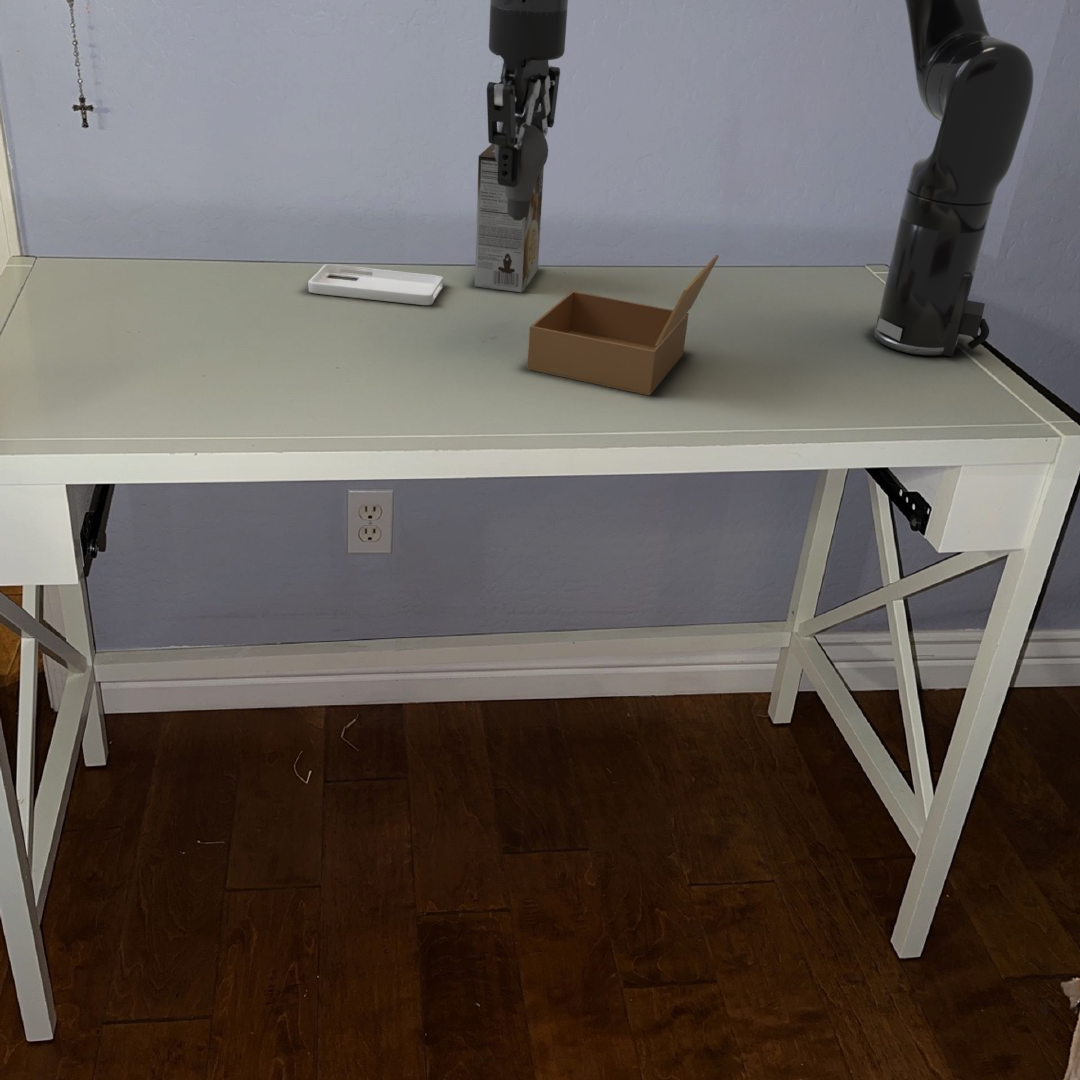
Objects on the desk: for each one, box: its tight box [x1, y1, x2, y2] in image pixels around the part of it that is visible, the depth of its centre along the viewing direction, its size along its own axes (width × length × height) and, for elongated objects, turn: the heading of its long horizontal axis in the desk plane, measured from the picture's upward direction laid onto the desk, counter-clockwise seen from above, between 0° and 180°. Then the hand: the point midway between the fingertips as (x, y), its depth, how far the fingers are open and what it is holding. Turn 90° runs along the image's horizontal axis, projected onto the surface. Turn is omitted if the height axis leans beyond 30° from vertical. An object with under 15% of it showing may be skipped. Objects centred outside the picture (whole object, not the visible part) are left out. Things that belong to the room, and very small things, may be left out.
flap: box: [655, 254, 720, 347], centre depth 119 cm, size 7×12×1 cm
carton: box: [526, 290, 689, 396], centre depth 125 cm, size 14×13×5 cm
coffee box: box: [474, 143, 545, 293], centre depth 143 cm, size 9×6×16 cm
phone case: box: [307, 263, 444, 306], centre depth 141 cm, size 7×1×15 cm
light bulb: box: [494, 124, 549, 221], centre depth 121 cm, size 6×6×10 cm
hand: (519, 178), depth 122 cm, fingers closed on light bulb, 5 cm apart
